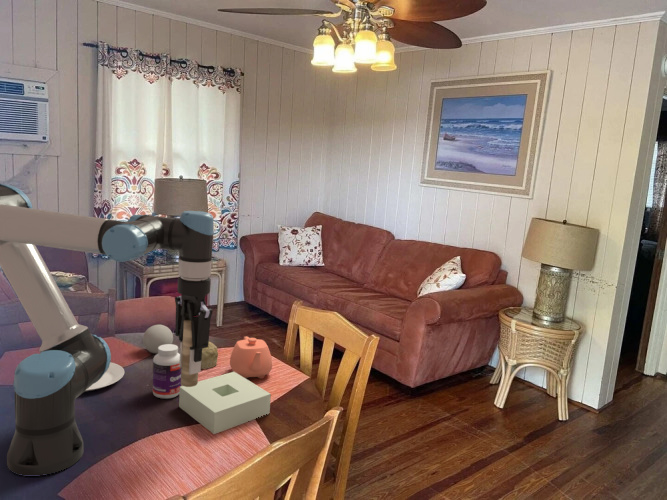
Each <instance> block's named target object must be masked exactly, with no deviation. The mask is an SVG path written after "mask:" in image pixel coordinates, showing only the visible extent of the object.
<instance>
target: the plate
mask: <svg viewBox="0 0 667 500" xmlns="http://www.w3.org/2000/svg"><path fill="white" fill-rule="evenodd" d="M124 375H125V369H124V368H123V366H121V365H120V364H117V363H115V362H112V361H111V362H110V365H109V368H108V370H107V371H106V372H105V374H104V375H103V376H102V377H101V379H99V380H98V381H97V382H96V383H94V384H93V385H91V386H90V387H89V388H88V389H87V390H85V391H84V392H89V391H95V390H99V389H102V388H105V387H107V386H110V385H113V384H115V383H116V382H119V381H120V380H121V379H122V378H123V377H124Z"/></svg>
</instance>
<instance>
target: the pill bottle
mask: <svg viewBox="0 0 667 500" xmlns="http://www.w3.org/2000/svg"><path fill="white" fill-rule="evenodd" d="M179 363H180V352H179V346H178V345H176V344H173V343H172V344H164V345H161V346H159V347H158V354H155V355H154V357H153V359H152V364H153V365H152V366H153V367H152V394H153V396H155V397H156V398H158V399H159V398H160V399H165V400H166V399H167V400H168V399H173V398H176V397H177V396H179V393H180V387H181V386H182V385H181V369H182V368H180V367H179Z"/></svg>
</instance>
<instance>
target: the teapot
mask: <svg viewBox="0 0 667 500" xmlns="http://www.w3.org/2000/svg"><path fill="white" fill-rule="evenodd" d="M272 359H273V358H272V354H271V351H270V349H269V346H268V345H267V342H266V341H265V340H264V339H259V338H258V339H257V338H256V337H249V336H246V335H245V336H243V339H241V340H237V341H236V343H235V344H234V347H233V349H232V351H231V354H230V359H229V365H230V369H231V370H232V371H231V372H235V373H237V374H239V375H240V376H242V377H244V378H245V379H247V380H248V378H258V379H265V377H266V375H269V374H270V373H271V371H272V369H273V360H272Z"/></svg>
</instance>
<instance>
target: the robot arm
mask: <svg viewBox="0 0 667 500" xmlns="http://www.w3.org/2000/svg"><path fill="white" fill-rule="evenodd" d="M214 235H215V231H214V216H213V214H211V213H210V212H206V211H201V210H196V211H195V210H184V211H182V212H181V213H180V217H179V218H174V217H164V216H156V215H150V214H133V215H131V216H130V217H129V219H128V220H127V221H122V220H117V219H116V220H115V219H109V218H103V217H94V216H86V215H80V214H73V213H67V212H58V211H51V210H44V209H39V208H38V209H36V208H33V205H32V202H31V199H30V198H29V197H28V196H27V194H26V193H24V191H22V190H21V189H19V187H16V186H13V185H11V184H3V183H0V268H1V269H2V271H3V273H4V274H5V277H6V278H7V280H8V282H9V284H10V286H11V287H12V289H13V291H14V294H15V295H16V296H17V298H18V299H19V302H20V304H21V306H22V307H23V309H24V310H25V312H26V314H27V316H28V318H29V320H30V321H31V323H32V325H33V328H34V329H35V330H36V332H37V334H38V336H39V338H40V339H41V345H40V348H39V350H38V351H39V352H40V353H33V354H31V355H29V356H27V357H25V358H24V359H22V360H21V361H20V362H19V363H18V364H17V366H16V367H15V370H14V378H13V383H12V384H13V385H12V386H13V391H14V392H13V393H14V417H15V418H14V419H15V421H14V422H15V431H14V435H13V436H12V440H11V442H10V445H9V448H8V450H7V454H6V466H8V467H7V469H8V468H9V469H10V470H11V471H13V472H15V473H17V474H22V475H43V474H50V473H54V472H57V473H59V472H58V471H60V472H62V471H64V469H65V470H67V469H68V468H70V467H72V466H74V465H75V464H76V463H77V462H79V460H81V458H82V457H83V455H84V440H83V437H82V434H81V432H80V430H79V427H78V425H77V422H76V418H75V417H76V403H75V402H76V399H77V398H79V396H81V395H82V394H83V393H85V392H86V391H85V390H87V389H88V388H89V387H90V386H91V385H93V384H94V383H96V382H97V381H98V380H99V379H101V377H102V376H103V375H104V374H105V372H106V371H107V370H108V368H109V365H110V362H112V361H111V360H112V354H111V349H110V347H109V345H108V343H107V342H106V341H105V339H103V337H101V336H97V334H92V332H91V330H90V329H89V327H88V326H86V325H82V324H79V323H78V321H77V319H76V318H75V315H74V313H73V312H72V309H70V306H69V304H68V303H67V301H66V299H65V297H64V295H63V294H62V292H61V290H60V288H59V286H58V284H57V282H56V281H55V279H54V277H53V275H52V273H51V272H50V269H49V268H48V266H47V263H46V262H45V261H44V259H43V257H42V254H40V253H41V252H40V251H39V249H38V248H37V246H38V247H39V246H41V247H47V248H52V249H53V248H55V249H62V250H69V251H76V252H84V253H91V254H98V255H106V256H107V257H108V258H110V259H111V260H112V261H115V262H120V263H124V262H125V263H126V262H130V261H135V260H137V259H138V258H140V257H142V256H144V255H146V254H149V253H150V252H151V253H152V252H153V251H155V250H169V251H170V250H171V251H178V254H179V255H178V267H177V268H178V269H177V275H178V278H177V292H178V294H180V295H179V296H175V297H174V303H175V334H174V335H175V336H176V337H178V340H179V344H180V345H179V354H180V363H179V367H180V368H182V348H183V327H184V320H188V319H189V320H190V321H191V329H192V347H190V362H189V374H190V375H191V374H195V373H198V374H199V373H201V370H202V369H201V360H202V349H203V348H207V347H208V343H209V341H210V340H209V339H210V331H211V330H210V329H211V318H212V315H213V309H212V308H208V307H207V306H206V305H207V302H206V296H208V295H209V294H210V292H211V280H212V279H211V275H212V265H213V263H212V257H213V256H212V255H213V245H214V244H213V243H214ZM66 468H67V469H66ZM9 469H8V470H9ZM10 470H9V471H10ZM61 470H62V471H61ZM11 471H10V472H11ZM54 474H55V473H54ZM50 475H51V474H50Z"/></svg>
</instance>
